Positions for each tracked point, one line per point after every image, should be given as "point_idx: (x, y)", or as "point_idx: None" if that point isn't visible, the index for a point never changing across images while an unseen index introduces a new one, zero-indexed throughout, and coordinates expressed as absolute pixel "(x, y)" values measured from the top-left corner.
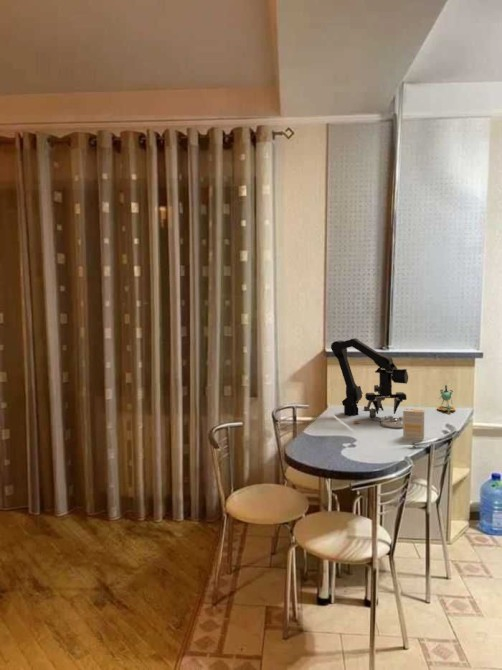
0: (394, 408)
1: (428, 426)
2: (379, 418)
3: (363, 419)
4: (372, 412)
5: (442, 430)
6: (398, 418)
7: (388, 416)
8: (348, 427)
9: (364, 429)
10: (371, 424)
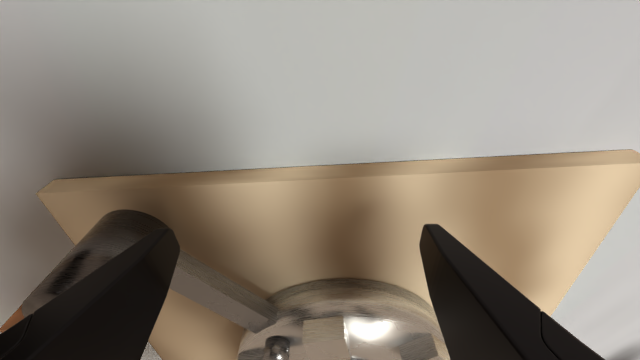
0: (453, 326)
1: (613, 294)
2: (218, 313)
3: (17, 103)
4: None
5: (623, 351)
6: (406, 331)
7: (306, 349)
8: None
9: (144, 355)
10: None
